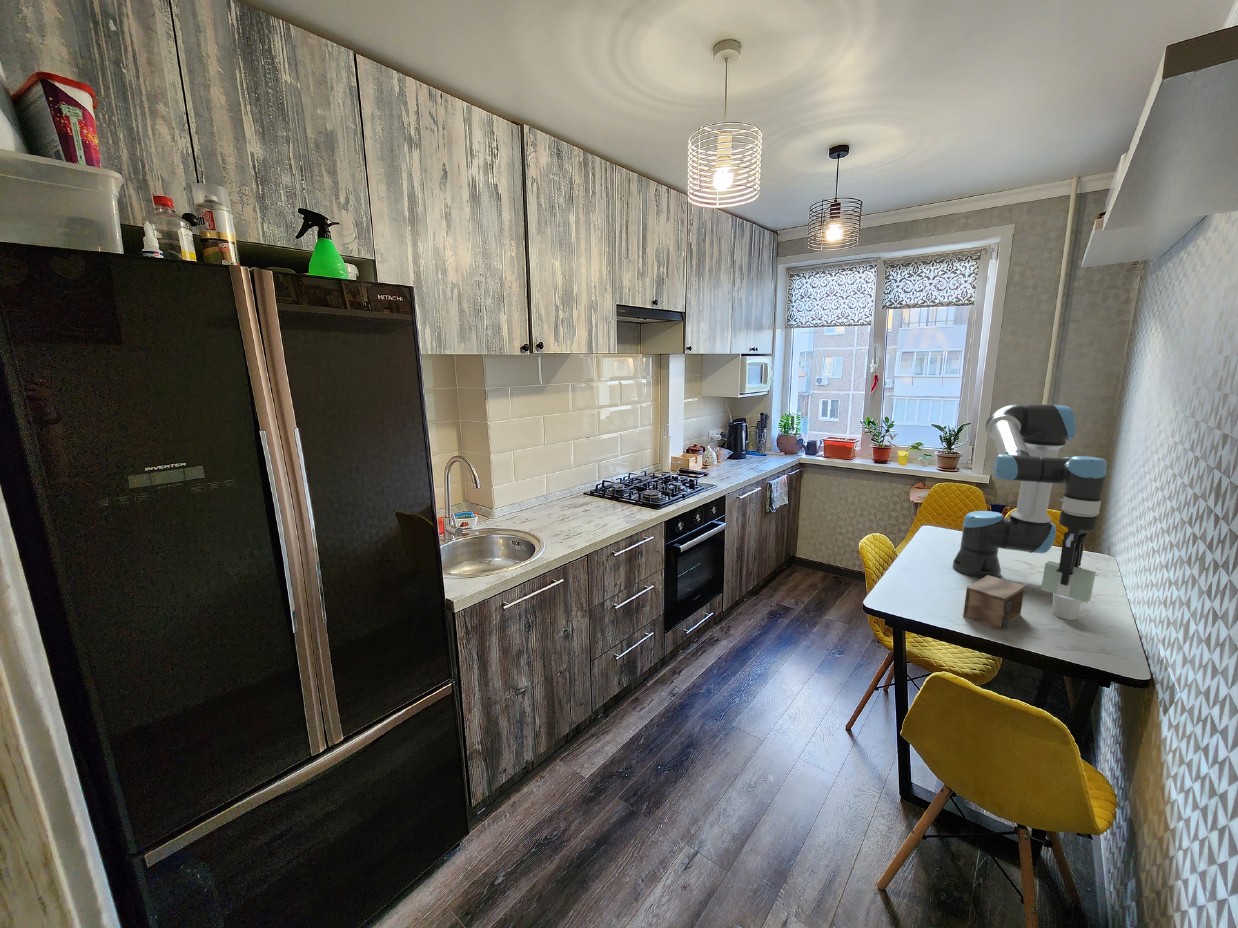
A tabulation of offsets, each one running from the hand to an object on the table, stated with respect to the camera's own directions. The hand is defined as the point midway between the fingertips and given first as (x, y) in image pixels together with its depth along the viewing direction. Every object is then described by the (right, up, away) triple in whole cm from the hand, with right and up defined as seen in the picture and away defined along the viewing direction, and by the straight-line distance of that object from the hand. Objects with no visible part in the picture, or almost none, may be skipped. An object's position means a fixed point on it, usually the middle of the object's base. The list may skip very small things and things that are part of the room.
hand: (1065, 592), depth 140 cm
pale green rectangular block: (0, 0, 0) cm, 0 cm away
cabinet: (-8, -12, +17) cm, 22 cm away
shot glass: (+15, -12, +17) cm, 26 cm away
